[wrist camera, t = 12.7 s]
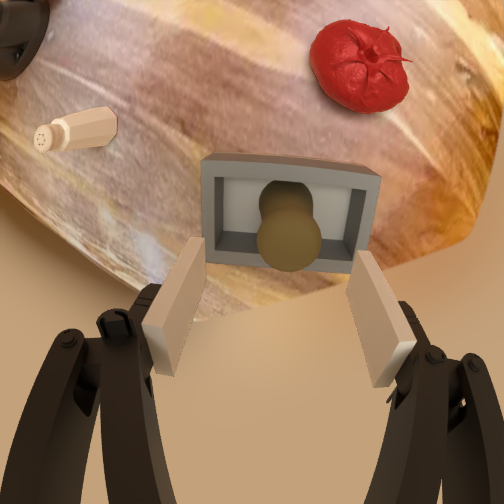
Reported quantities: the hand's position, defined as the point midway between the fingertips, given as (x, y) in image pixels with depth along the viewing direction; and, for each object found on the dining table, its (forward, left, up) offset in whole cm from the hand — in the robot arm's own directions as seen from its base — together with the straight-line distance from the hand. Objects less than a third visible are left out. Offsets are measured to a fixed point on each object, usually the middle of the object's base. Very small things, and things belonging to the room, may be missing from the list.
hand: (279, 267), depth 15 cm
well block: (+1, -2, -18) cm, 18 cm away
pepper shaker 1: (-22, +7, -18) cm, 29 cm away
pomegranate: (+7, +14, -18) cm, 24 cm away
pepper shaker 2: (+1, -2, -17) cm, 17 cm away
